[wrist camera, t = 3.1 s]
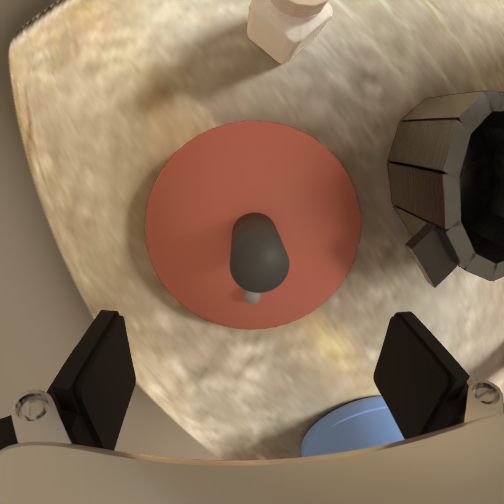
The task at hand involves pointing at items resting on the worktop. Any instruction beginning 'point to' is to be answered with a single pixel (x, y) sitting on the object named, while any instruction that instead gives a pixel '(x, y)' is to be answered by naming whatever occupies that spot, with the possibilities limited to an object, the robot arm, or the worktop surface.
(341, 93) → the worktop surface
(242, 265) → the lid
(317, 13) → the pepper shaker
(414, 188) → the pot
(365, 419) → the water jug
